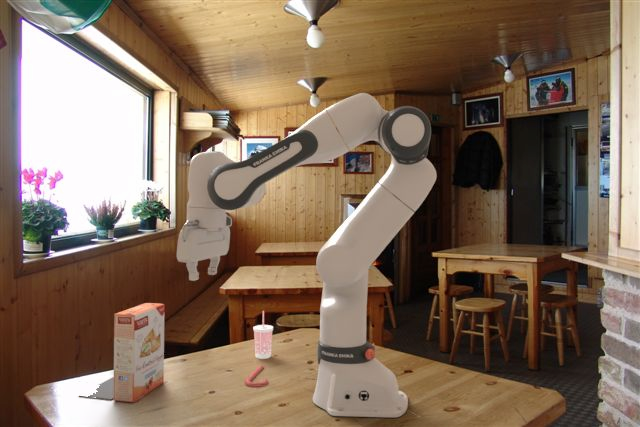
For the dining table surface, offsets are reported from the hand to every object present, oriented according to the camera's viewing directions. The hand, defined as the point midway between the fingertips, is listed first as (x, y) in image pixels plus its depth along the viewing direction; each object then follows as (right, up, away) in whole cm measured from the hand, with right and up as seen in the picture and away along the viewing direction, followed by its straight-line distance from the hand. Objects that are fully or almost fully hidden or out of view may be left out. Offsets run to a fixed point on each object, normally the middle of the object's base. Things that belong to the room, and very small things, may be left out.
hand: (203, 277), depth 120 cm
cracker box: (-17, -29, +4) cm, 34 cm away
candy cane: (+11, -30, +15) cm, 35 cm away
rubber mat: (-24, -29, +6) cm, 38 cm away
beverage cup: (+11, -29, +33) cm, 45 cm away
